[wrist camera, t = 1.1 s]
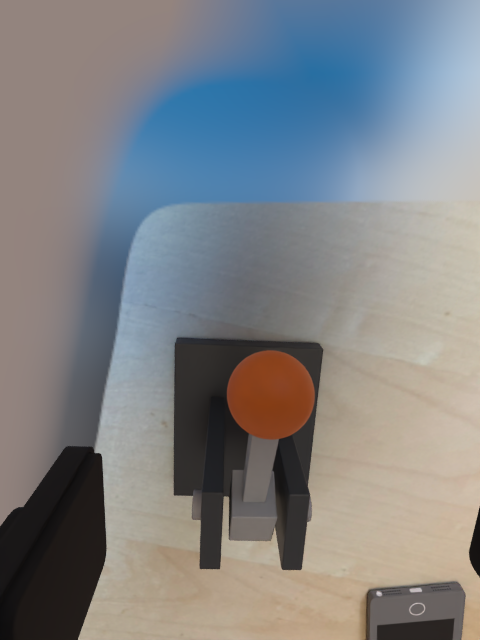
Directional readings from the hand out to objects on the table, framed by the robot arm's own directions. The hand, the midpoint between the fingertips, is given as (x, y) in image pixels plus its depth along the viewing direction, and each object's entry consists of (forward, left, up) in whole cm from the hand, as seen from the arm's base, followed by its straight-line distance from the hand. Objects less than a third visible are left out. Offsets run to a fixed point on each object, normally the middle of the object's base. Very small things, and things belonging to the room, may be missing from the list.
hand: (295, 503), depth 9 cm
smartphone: (+31, +16, -18) cm, 39 cm away
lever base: (+8, 0, -18) cm, 20 cm away
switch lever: (+3, 0, -9) cm, 9 cm away
